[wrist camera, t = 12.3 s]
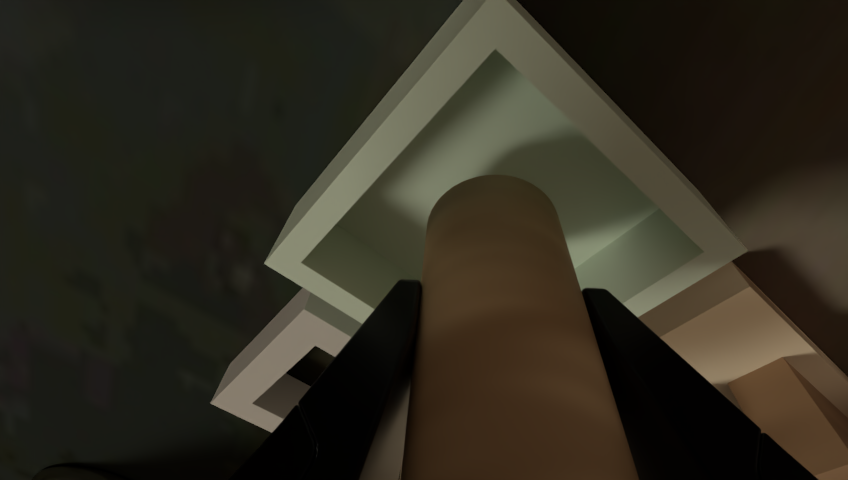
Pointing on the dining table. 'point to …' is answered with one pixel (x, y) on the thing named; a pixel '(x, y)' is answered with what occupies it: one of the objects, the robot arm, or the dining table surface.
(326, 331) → the socket
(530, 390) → the dowel
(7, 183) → the dining table surface
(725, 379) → the board
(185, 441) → the dining table surface
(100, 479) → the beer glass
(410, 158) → the tray
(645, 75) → the dining table surface
